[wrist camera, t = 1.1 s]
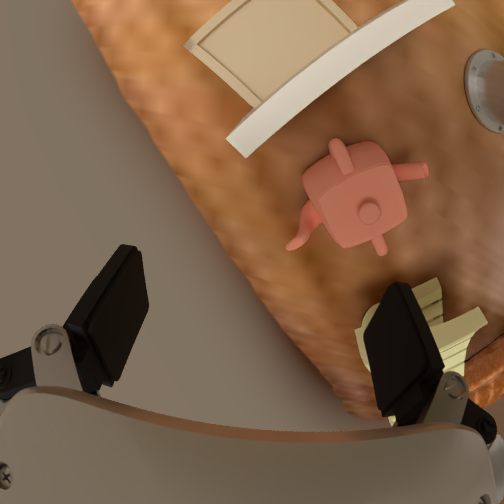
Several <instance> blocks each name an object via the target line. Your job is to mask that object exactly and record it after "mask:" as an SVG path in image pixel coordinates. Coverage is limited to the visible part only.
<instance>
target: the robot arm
mask: <svg viewBox="0 0 504 504" xmlns="http://www.w3.org/2000/svg"><path fill="white" fill-rule="evenodd" d="M464 80H465V90H466V96H467V99H468V103H469V105H470V108H471V110H472V112H473V114H474V115H475V117H476V119H477V120H478V121H479V122H480V124H482V125H483V126H484V127H485V128H487V129H488V130H490V131H493V132H495V133H504V57H503V56H502V55H500V54H499V53H497V52H495V51H493V50H488V49H484V50H479V51H476V52H475V53H473V54H472V56H471V57H470V58H469V60H468V62H467V65H466V69H465V78H464ZM148 308H149V301H148V295H147V289H146V283H145V276H144V269H143V262H142V254H141V252H140V251H138V250H137V247H135V246H131V245H124V244H122V245H120V246H119V247H118V249H117V250H116V251H115V253H114V254H113V255H112V257H111V258H110V259H109V261H108V262H107V263H106V265H105V266H104V267H103V269H102V270H101V272H100V273H99V274H98V276H96V278H95V279H94V280H93V281H92V283H91V284H90V286H89V287H88V289H87V290H86V291H85V293H84V294H83V296H82V297H81V299H80V300H79V302H78V303H77V305H76V306H75V308H74V310H73V311H72V313H71V314H70V316H69V317H68V319H67V320H66V322H65V324H64V325H63V327H62V326H59V325H56V324H50V325H46V326H44V327H41V328H40V329H39V330H38V331H37V332H36V333H35V334H34V336H33V338H32V341H31V347H29V348H26V349H23V350H21V351H18V352H16V353H14V354H11V355H8V356H6V357H3V358H1V359H0V504H499V503H500V501H501V500H502V498H503V497H504V441H503V440H502V438H501V437H500V435H497V436H496V433H497V426H496V422H495V420H494V418H493V417H492V416H491V415H490V414H489V413H487V412H486V411H485V410H483V409H482V408H481V407H480V406H478V405H477V404H476V403H474V402H473V401H472V400H470V399H469V398H468V396H469V387H468V384H467V382H466V380H465V379H464V377H463V376H462V375H460V374H459V373H457V372H455V371H447V372H445V373H444V372H443V369H444V368H445V365H444V362H443V360H442V357H441V354H440V352H439V349H438V347H437V344H436V342H435V339H434V337H433V335H432V332H431V330H430V328H429V325H428V323H427V321H426V319H425V316H424V314H423V312H422V310H421V308H420V306H419V304H418V301H417V299H416V297H415V295H414V293H413V291H412V289H411V287H410V285H409V284H407V283H400V282H394V283H393V284H392V285H390V286H389V287H388V288H387V290H386V292H385V294H384V296H383V298H382V300H381V302H380V304H379V306H378V308H377V309H376V311H375V313H374V315H373V317H372V318H371V320H370V322H369V324H368V325H367V327H366V329H365V331H364V334H363V340H364V344H365V349H366V353H367V357H368V362H369V366H370V371H371V376H372V381H373V385H374V391H375V396H376V401H377V406H378V409H379V410H381V413H382V417H389V416H394V415H395V419H396V421H395V422H394V424H393V426H392V427H391V428H382V429H371V430H358V431H340V432H291V431H290V432H289V431H272V430H258V429H248V428H239V427H230V426H223V425H216V424H210V423H204V422H198V421H192V420H187V419H182V418H177V417H173V416H168V415H164V414H159V413H155V412H152V411H148V410H144V409H140V408H136V407H132V406H129V405H125V404H122V403H118V402H115V401H112V400H108V399H105V398H102V397H101V396H100V393H99V390H100V387H101V385H102V384H103V385H106V386H109V387H112V386H113V384H114V381H118V380H119V378H120V376H121V374H122V371H123V369H124V366H125V364H126V361H127V359H128V356H129V354H130V352H131V349H132V347H133V344H134V342H135V340H136V337H137V335H138V333H139V330H140V328H141V326H142V323H143V321H144V319H145V317H146V314H147V312H148Z"/></svg>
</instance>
